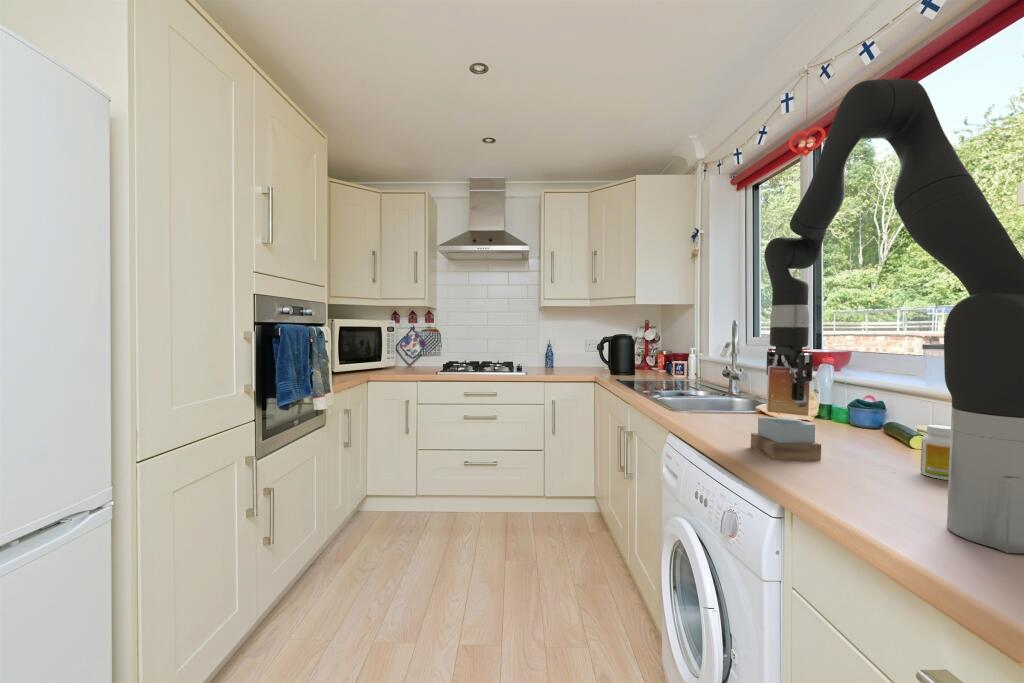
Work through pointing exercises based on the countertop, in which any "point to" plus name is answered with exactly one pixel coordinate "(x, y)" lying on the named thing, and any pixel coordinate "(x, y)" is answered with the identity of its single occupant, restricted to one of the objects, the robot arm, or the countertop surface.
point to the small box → (784, 393)
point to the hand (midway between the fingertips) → (787, 397)
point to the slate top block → (786, 430)
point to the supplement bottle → (936, 452)
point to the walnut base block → (785, 449)
